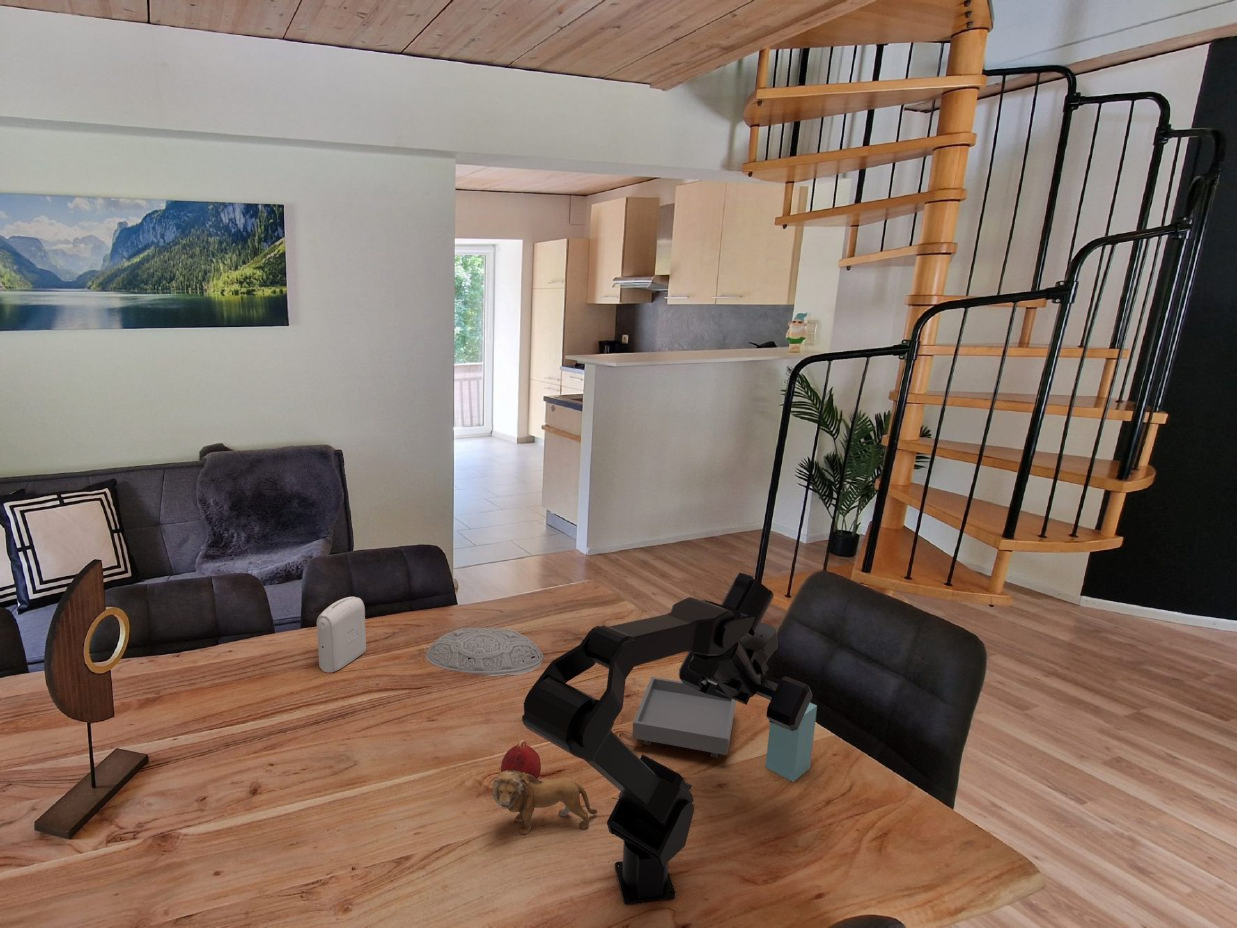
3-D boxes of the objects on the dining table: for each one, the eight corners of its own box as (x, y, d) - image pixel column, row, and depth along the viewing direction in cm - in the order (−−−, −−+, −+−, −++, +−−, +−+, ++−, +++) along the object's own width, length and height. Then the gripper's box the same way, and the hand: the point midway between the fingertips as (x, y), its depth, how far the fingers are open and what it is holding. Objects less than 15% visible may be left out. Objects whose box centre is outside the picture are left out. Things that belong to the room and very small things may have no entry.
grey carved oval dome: (542, 678, 142) (541, 643, 141) (411, 676, 142) (409, 642, 142) (552, 647, 157) (551, 616, 156) (434, 647, 158) (433, 616, 157)
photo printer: (334, 675, 140) (331, 613, 137) (315, 670, 141) (312, 609, 138) (369, 651, 149) (367, 593, 146) (352, 647, 150) (349, 589, 148)
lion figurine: (495, 847, 99) (495, 787, 97) (489, 820, 104) (489, 762, 102) (602, 827, 103) (604, 769, 101) (591, 802, 108) (593, 747, 106)
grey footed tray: (726, 766, 117) (728, 739, 116) (631, 748, 121) (633, 722, 120) (734, 714, 132) (737, 690, 131) (650, 700, 135) (651, 676, 134)
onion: (533, 805, 107) (534, 756, 105) (494, 798, 108) (495, 749, 106) (545, 780, 113) (546, 733, 111) (508, 774, 114) (509, 727, 112)
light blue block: (793, 782, 115) (800, 717, 112) (765, 767, 118) (771, 704, 116) (809, 768, 118) (817, 705, 116) (782, 754, 122) (788, 692, 119)
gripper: (816, 631, 98) (839, 683, 109) (697, 591, 110) (729, 641, 120) (780, 707, 94) (808, 753, 104) (660, 656, 105) (696, 702, 116)
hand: (758, 708), depth 111 cm, fingers open, 9 cm apart
